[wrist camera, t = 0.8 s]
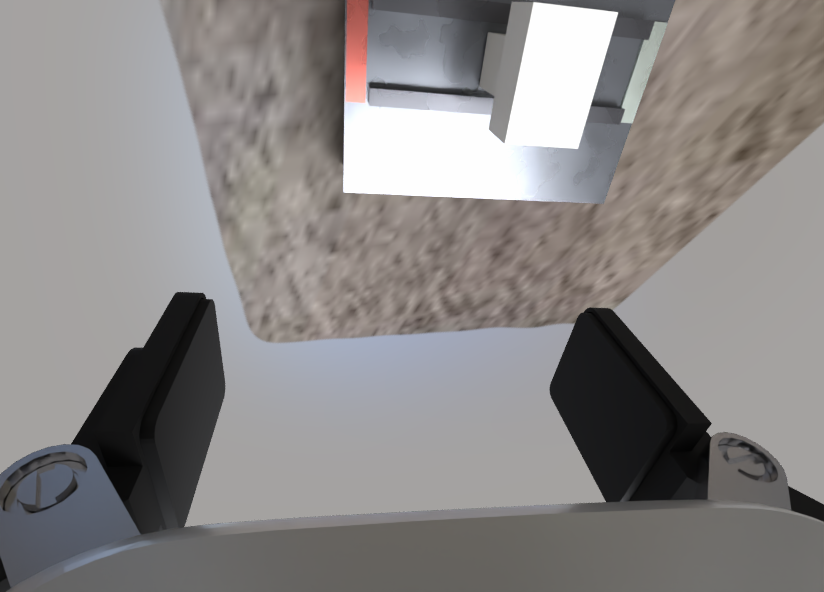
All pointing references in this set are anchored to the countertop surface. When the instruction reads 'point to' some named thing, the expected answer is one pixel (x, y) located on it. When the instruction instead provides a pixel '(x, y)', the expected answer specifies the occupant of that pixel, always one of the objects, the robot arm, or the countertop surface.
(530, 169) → the slider base
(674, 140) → the countertop surface
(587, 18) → the handle
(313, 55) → the countertop surface
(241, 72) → the countertop surface
